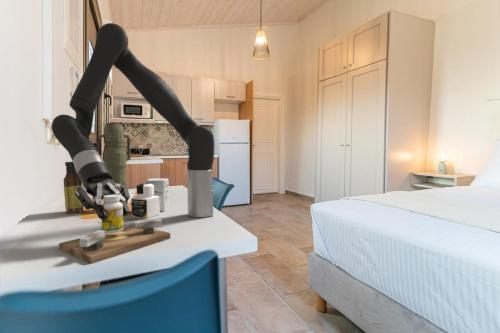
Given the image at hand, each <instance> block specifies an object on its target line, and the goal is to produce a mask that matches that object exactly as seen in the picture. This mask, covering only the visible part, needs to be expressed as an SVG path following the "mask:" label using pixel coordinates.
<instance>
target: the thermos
mask: <svg viewBox="0 0 500 333" xmlns="http://www.w3.org/2000/svg"><path fill="white" fill-rule="evenodd" d="M102 138H103V143H104V146H103V151H102ZM125 138H126V144H127V145H126V146H127V148H125ZM125 149H127V151H126V150H125ZM97 152H98V153H99V155H100V156H101V157H102V159H103V161H104V163H105V164H106V166H107V168H108V170H109V172H110V174H111V176H112V180H113V181H114V182H115V183H116V184H122V182H125V183H126V184H127V172H126V168H127V166H128V164H127V162H128V161H131V156H132V154H131V137H130V136H129V135H127V134H125V130H124V127H123V124H121V123H119V122H108V123H105V125H104V128H103V134H100V135H99V137H98V138H97ZM116 189H117V188H116ZM117 190H118V189H117ZM113 195H114V194H113ZM104 203H105V202H104V201H103V204H104ZM128 203H129V200H128V201H127V203H126V204H127V205H128Z"/></svg>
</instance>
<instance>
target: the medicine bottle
mask: <svg viewBox="0 0 500 333" xmlns="http://www.w3.org/2000/svg"><path fill="white" fill-rule="evenodd" d="M153 195H154V185H153V184H146V183H140V184H137V185H136V196H134V197H130V199H131V217H132V218H137V219H145V220H148V219H151V218H153V217H157V216H159V215H160V214H161V213H160V212H161V211H160V208H159V196H153Z"/></svg>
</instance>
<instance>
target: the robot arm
mask: <svg viewBox="0 0 500 333" xmlns="http://www.w3.org/2000/svg"><path fill="white" fill-rule="evenodd" d="M95 40H96V41H95V44H94V48H93V51H92V54H91V57H90V58H89V61H88V64H87V66H86V68H85V71H84V73H83V74H82V76H81V78H80V79H79V80H80V81H79V82H78V84H77V86H76V87H75V91H73V94H72V96H71V98H70V101H69V107H70V109H72V110H73V111H74V112H75V117H73V116H71V115H69V114H59V115H57V116H55V117H54V118H53V120H52V122H51V132H52V134H53V136H54V137H55V139H56V140H57V141H58V142H59V143H60V144H61V146H62V147H63V148H64V149H65V150H66V151H67V152H68V154H69V157H70V158H71V160H72V161H71V162H73V163H74V167H75V169H76V172H77V173H78V176H79V178H80V180H81V182H82V187H78V188H77V190H76V192H75V196H76V197H77V198H78V199H79V201H80V202H81V203H82V205H83V206H84V209H86V210H90V209H91V210H94V212H95V214H96V215H97V217H98V219H99V220H101V222H102V221H104V220H106V219H107V217H108V215H107V213H106V211H105V209H104V207H103V205H102V200H103V197H104V196H105V195H113V194H114V195H120V201H119V202H121V203H122V204H123V217H127V216H128V214H129V213H130V207H129V206H128V203H127V201H128V202H129V200H130V199H131V195H130V192H129V188H128V185H127V182H126V183H125V182H122V184H116V183H115V182H114V181H113V180H112V176H111V174H110V172H109V170H108V168H107V166H106V164H105V163H104V161H103V159H102V158H103V156H102V155H101V156H102V157H101V156H100V155H99V153H98V149H97V148H96V146H95V145H94V143H93V141H92V140H90V139H89V138H90V136H91V133H92V131H93V122H94V114H95V110H96V108H97V106H98V105H99V102H100V100H101V98H102V96H103V92H104V90H105V87H106V84H107V81H108V78H109V75H110V72H111V70H112V69H113V67H115V68H116V69H117V70H119V71H120V72H121V73H122V74H123V75H124V76H125V78H126V79H127V80H128V81H129V82H130V84H132V86H133V87H134V88H135V89H136V90H137V92H138V93H139V94H140V95H141V96H142V97H143V98H144V100H146V102H147V103H148V104H149V105H150V106H151V107H152V109H154V110H155V111H156V112H157V113H158V114H159V115H160V116H161V117H162V118H163V119H165V121H166V122H168V124H170V126H172V127H173V128H174V129H175V131H176V132H177V134H178V135H179V136H180V138H182V140H183V141H184V143H185V144H186V146H188V160H187V164H186V167H187V170H186V171H187V216H188V217H190V218H207V217H213V216H214V189H213V187H214V186H213V164H214V160H215V159H214V158H215V137H214V133H213V132H212V130H211V129H210V128H209V127H207V126H205V125H199V124H198V123H197V122H196V121H195V120H194V119H193V118H192V117H191V116H190V115H189V114H188V112H187V111H186V110H185V108H184V106H183V104H182V102H181V100H180V99H179V98H178V96H177V94H176V93H175V92H174V90H173V89H172V88H171V86H170V85H169V84H168V83H167V82H166V81H165V80H164V79H163V78H162V77H161V76H160V75H158V74H157V73H155V72H154V71H152V70H151V69H150V68H149V67H148V66H145V65H144V64H143V63H142V62H141V61H140V60H139V59H138V58H137V57H136V55H134V53H133V52H132V50H130V48H129V37H128V34H127V32H126V30H125V29H124V28H123V27H122V26H120V25H119V24H116V23H115V22H114V23H113V22H112V23H111V22H109V23H104V24H103V25H102V26H100V27H99V29H98V31H97V34H96V39H95ZM116 188H117V189H118V190H117V189H116ZM89 195H90V196H92V198H91V197H90V196H89ZM126 203H127V204H126Z"/></svg>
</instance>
